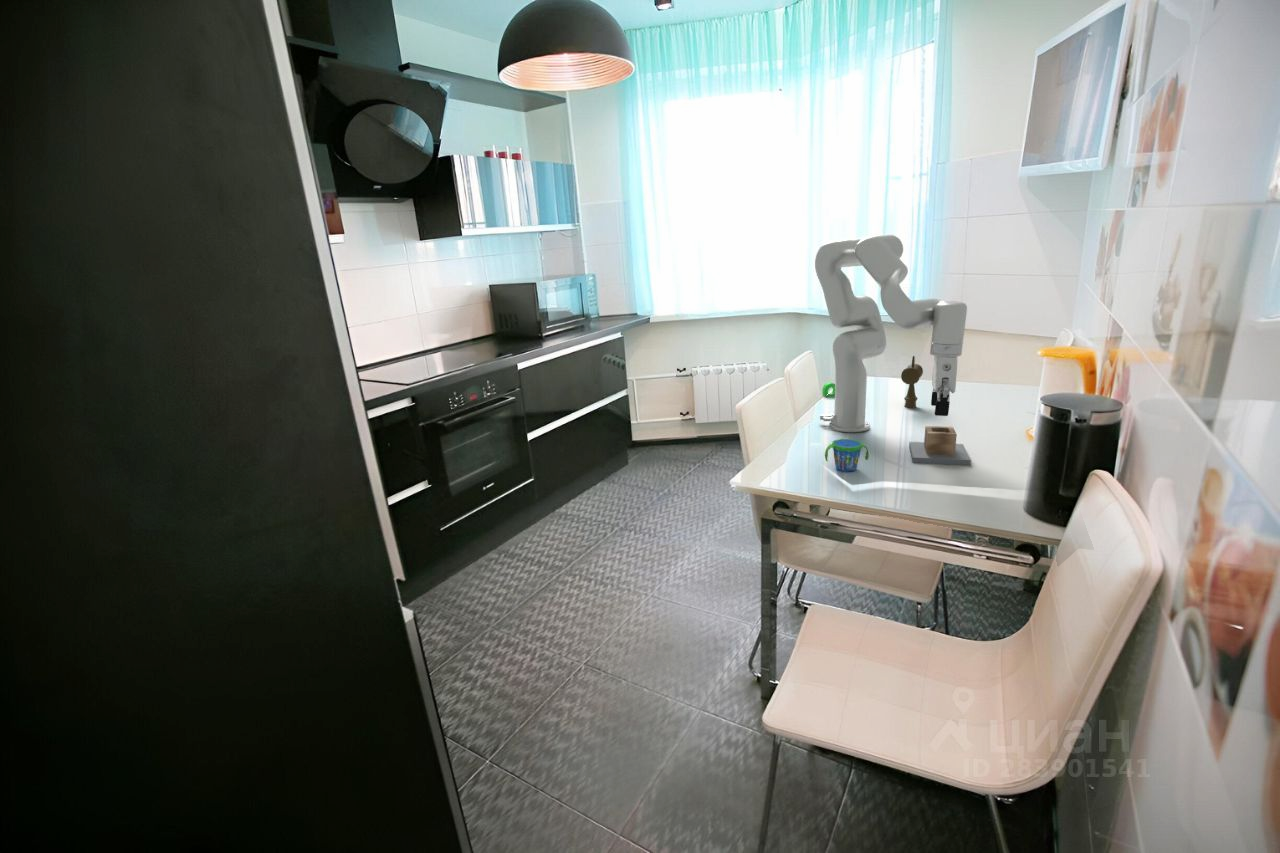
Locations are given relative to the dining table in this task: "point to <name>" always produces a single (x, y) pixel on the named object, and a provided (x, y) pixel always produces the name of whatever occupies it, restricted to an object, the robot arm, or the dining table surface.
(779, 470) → the dining table surface
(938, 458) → the board
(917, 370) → the kendama
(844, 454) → the snack cup
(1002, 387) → the dining table surface
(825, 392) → the mechanical part
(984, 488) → the dining table surface
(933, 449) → the brown wooden square box
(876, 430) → the dining table surface
